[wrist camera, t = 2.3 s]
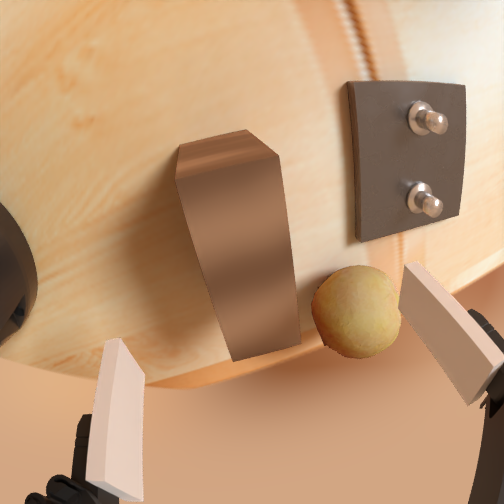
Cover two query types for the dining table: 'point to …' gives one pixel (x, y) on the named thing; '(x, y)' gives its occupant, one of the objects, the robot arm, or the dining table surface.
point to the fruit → (357, 311)
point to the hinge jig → (406, 154)
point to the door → (241, 239)
